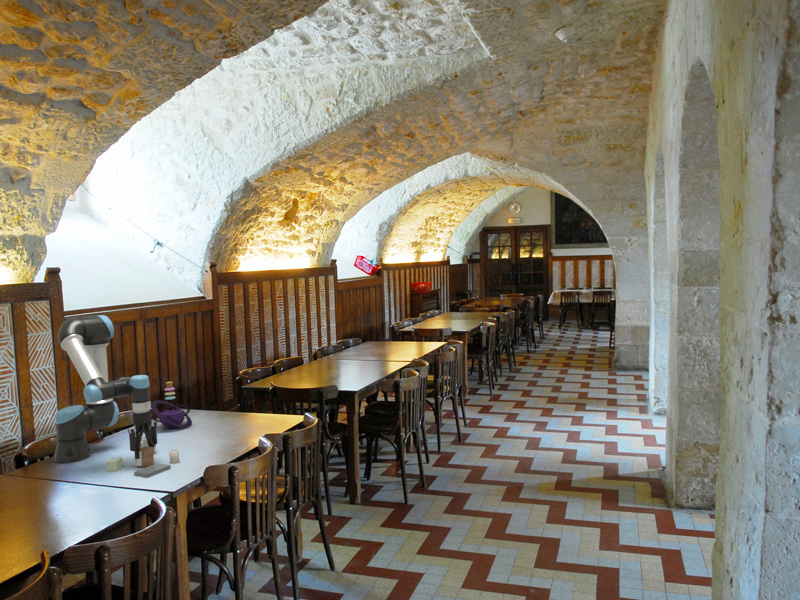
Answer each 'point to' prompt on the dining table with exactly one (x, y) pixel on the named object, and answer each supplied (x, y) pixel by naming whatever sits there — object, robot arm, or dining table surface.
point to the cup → (145, 443)
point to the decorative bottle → (171, 411)
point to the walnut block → (147, 456)
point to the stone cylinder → (174, 456)
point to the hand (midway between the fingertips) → (145, 463)
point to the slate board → (152, 470)
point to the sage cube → (114, 464)
